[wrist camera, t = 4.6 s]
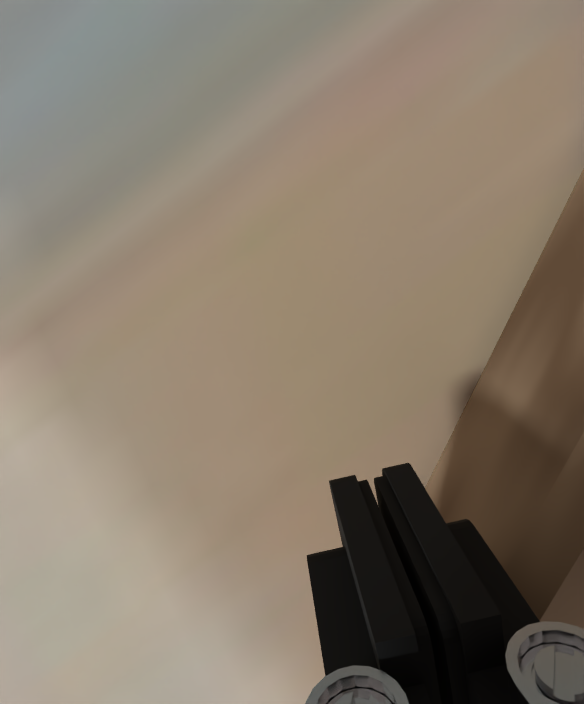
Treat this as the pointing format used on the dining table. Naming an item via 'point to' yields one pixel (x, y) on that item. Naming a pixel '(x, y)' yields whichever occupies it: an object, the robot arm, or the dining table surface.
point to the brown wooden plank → (530, 435)
